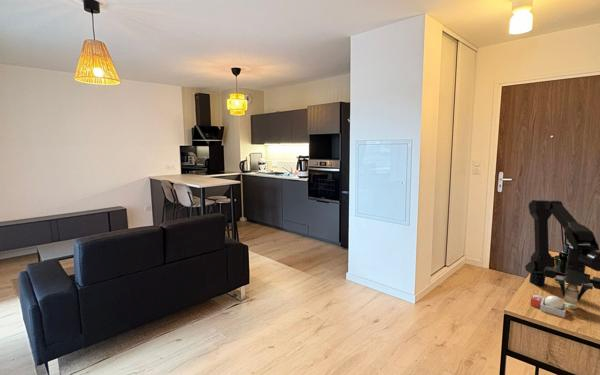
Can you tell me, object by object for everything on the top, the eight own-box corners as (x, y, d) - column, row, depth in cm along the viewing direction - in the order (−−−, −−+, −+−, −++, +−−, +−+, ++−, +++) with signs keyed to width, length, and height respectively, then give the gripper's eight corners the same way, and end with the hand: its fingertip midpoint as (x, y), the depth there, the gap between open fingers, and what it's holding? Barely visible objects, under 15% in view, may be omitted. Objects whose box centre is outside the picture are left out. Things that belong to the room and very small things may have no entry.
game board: (534, 294, 138) (535, 286, 138) (577, 305, 129) (579, 297, 128) (528, 310, 125) (529, 301, 125) (576, 324, 116) (578, 315, 115)
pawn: (562, 298, 129) (564, 280, 128) (573, 300, 128) (576, 282, 127) (566, 303, 125) (569, 285, 124) (579, 304, 124) (582, 286, 123)
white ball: (544, 304, 127) (546, 291, 126) (562, 309, 123) (564, 296, 123) (543, 310, 123) (544, 296, 122) (561, 315, 119) (563, 301, 118)
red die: (531, 302, 129) (532, 294, 128) (540, 305, 127) (541, 297, 126) (530, 305, 127) (531, 297, 126) (539, 308, 125) (540, 300, 124)
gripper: (544, 260, 124) (539, 297, 126) (610, 273, 112) (604, 315, 114) (547, 252, 132) (542, 288, 135) (609, 264, 120) (602, 303, 122)
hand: (570, 298), depth 126 cm, fingers closed on pawn, 4 cm apart
